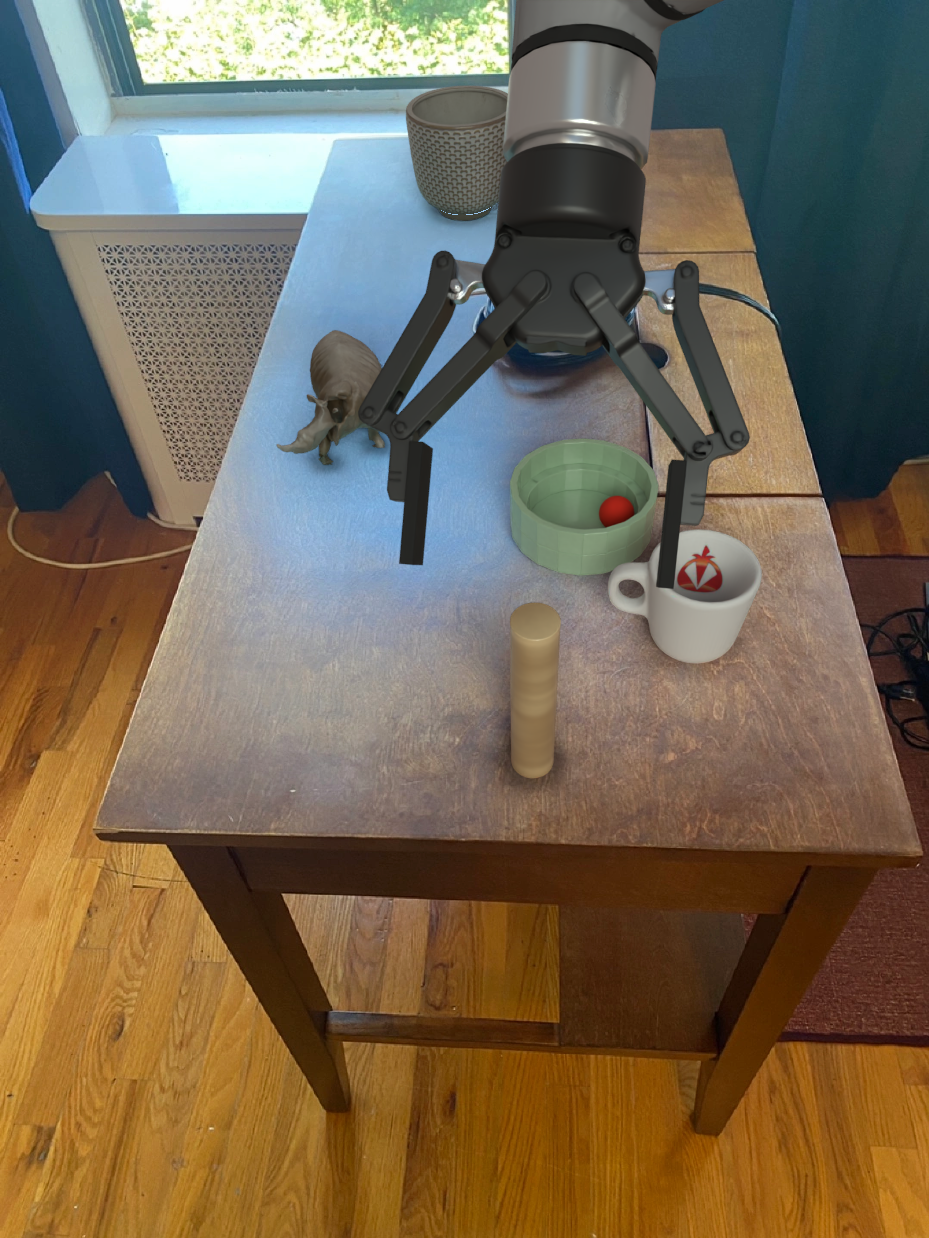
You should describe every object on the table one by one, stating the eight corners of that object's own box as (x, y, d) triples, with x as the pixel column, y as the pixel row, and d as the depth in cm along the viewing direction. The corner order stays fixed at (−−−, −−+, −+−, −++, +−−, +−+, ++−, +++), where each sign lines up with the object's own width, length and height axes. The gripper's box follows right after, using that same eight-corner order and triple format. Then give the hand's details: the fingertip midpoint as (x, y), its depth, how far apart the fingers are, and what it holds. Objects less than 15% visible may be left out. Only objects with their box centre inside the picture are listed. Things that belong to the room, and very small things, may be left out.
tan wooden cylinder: (560, 769, 64) (569, 630, 53) (521, 784, 64) (522, 646, 53) (542, 737, 66) (547, 596, 55) (504, 751, 66) (501, 611, 54)
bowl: (677, 556, 78) (686, 507, 74) (547, 599, 75) (548, 551, 71) (609, 472, 86) (614, 424, 82) (489, 509, 83) (487, 461, 79)
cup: (596, 662, 71) (603, 591, 65) (610, 588, 76) (618, 516, 70) (740, 685, 69) (760, 613, 63) (744, 607, 74) (764, 535, 68)
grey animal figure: (408, 358, 95) (365, 293, 80) (403, 488, 94) (359, 445, 79) (336, 362, 97) (282, 298, 82) (330, 489, 95) (274, 447, 81)
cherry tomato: (596, 508, 77) (618, 536, 77) (623, 486, 77) (645, 514, 77) (588, 512, 80) (609, 539, 80) (614, 490, 80) (635, 517, 80)
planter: (413, 190, 128) (404, 89, 118) (512, 183, 128) (511, 81, 118) (414, 237, 119) (405, 131, 109) (522, 229, 119) (522, 122, 109)
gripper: (808, 204, 49) (764, 596, 51) (360, 191, 53) (331, 556, 55) (843, 139, 42) (791, 600, 43) (320, 130, 46) (288, 554, 47)
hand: (535, 576), depth 49 cm, fingers open, 13 cm apart
